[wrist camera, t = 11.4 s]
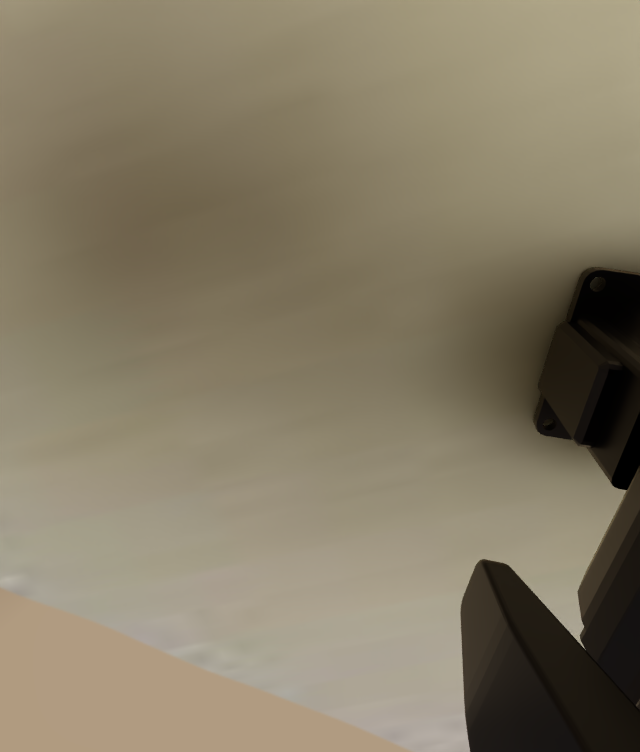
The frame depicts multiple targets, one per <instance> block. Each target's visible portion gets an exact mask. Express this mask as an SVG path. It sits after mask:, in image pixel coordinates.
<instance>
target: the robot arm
mask: <svg viewBox="0 0 640 752" xmlns="http://www.w3.org/2000/svg"><path fill="white" fill-rule="evenodd" d="M596 277H601V283H600V285H599V286H598V287H597V288H594V289H591V288H590V283H591V281H592V280H593V279H594V278H596ZM538 388H539V390H540V391H541V393H542V394H541V397H540V400H539V403H538V406H537V409H536V412H535V415H534V420H533V422H534V425H535V427H536V429H537V431H538V432H539V433H540V434H542V435H545V436H550V437H557V438H563V439H570V440H573V441H574V442H575V443H576V445H578V446H584V447H587V449H588V450H589V452H590V453H591V455H592V456H593V457H594V459H595V460H596V462H597V463H598V465H599V466H600V467H601V469H602V470H603V472H604V473H605V475H606V476H607V478H608V479H609V480H610V482H611V483H612V485H613V486H614V487H616V488H618V489H623V490H627V491H626V493H625V495H624V497H623V499H622V501H621V503H620V505H619V507H618V509H617V511H616V513H615V515H614V517H613V519H612V521H611V523H610V525H609V527H608V529H607V531H606V533H605V535H604V537H603V539H602V541H601V543H600V545H599V547H598V549H597V551H596V553H595V555H594V557H593V559H592V561H591V563H590V565H589V567H588V569H587V571H586V573H585V575H584V578H583V580H582V582H581V585H580V587H579V590H578V598H579V605H580V612H581V619H582V622H583V625H584V628H583V630H582V632H581V634H580V639H581V642H582V644H583V646H584V647H585V649H586V650H585V649H584V648H583V647H582V646H581V645H580V643H579V642H578V641H577V640H576V639H575V638H574V637H573V636H572V635H571V634H570V632H569V631H568V630H567V629H566V628H565V627H564V626H563V625H562V624H561V623H560V621H559V620H558V619H557V618H556V617H555V616H554V615H553V614H552V613H551V612H550V610H549V609H548V608H547V607H546V606H545V605H544V604H543V603H542V602H541V600H540V599H539V598H538V597H537V596H536V595H535V594H534V593H533V592H532V591H531V589H530V588H529V587H528V586H527V585H526V584H525V583H524V582H523V581H522V580H521V578H520V577H519V576H518V575H517V574H516V573H515V572H514V571H513V570H512V568H510V567H509V566H508V565H507V564H504V563H500V562H495V561H491V560H486V559H483V560H480V561H479V562H478V563H477V564H476V566H475V569H474V571H473V574H472V576H471V579H470V581H469V584H468V586H467V589H466V591H465V593H464V596H463V599H462V604H461V634H462V658H463V681H464V703H465V717H466V725H467V733H468V740H469V747H470V752H640V273H634V272H627V271H621V270H614V269H607V268H600V267H595V268H590V269H588V270H586V271H585V272H584V273H583V274H582V275H581V277H580V279H579V281H578V284H577V287H576V290H575V294H574V297H573V300H572V303H571V306H570V309H569V312H568V315H567V318H566V321H563V322H562V323H561V324H559V325H558V326H557V328H556V331H555V334H554V337H553V340H552V343H551V346H550V349H549V352H548V356H547V359H546V362H545V365H544V368H543V371H542V374H541V377H540V380H539V383H538ZM547 419H553V422H552V423H551V424H549V425H543V423H544V421H545V420H547Z"/></svg>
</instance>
